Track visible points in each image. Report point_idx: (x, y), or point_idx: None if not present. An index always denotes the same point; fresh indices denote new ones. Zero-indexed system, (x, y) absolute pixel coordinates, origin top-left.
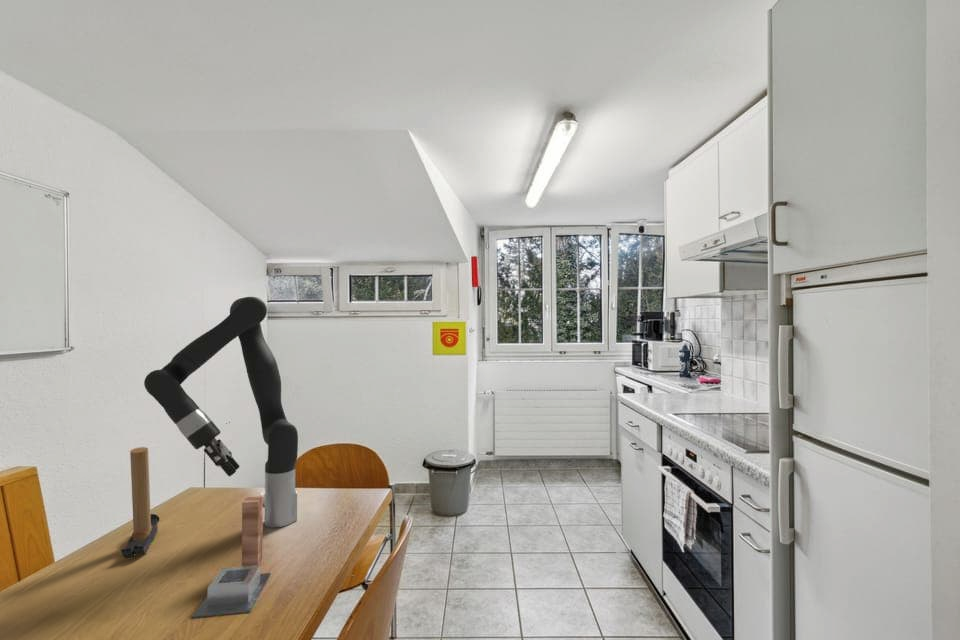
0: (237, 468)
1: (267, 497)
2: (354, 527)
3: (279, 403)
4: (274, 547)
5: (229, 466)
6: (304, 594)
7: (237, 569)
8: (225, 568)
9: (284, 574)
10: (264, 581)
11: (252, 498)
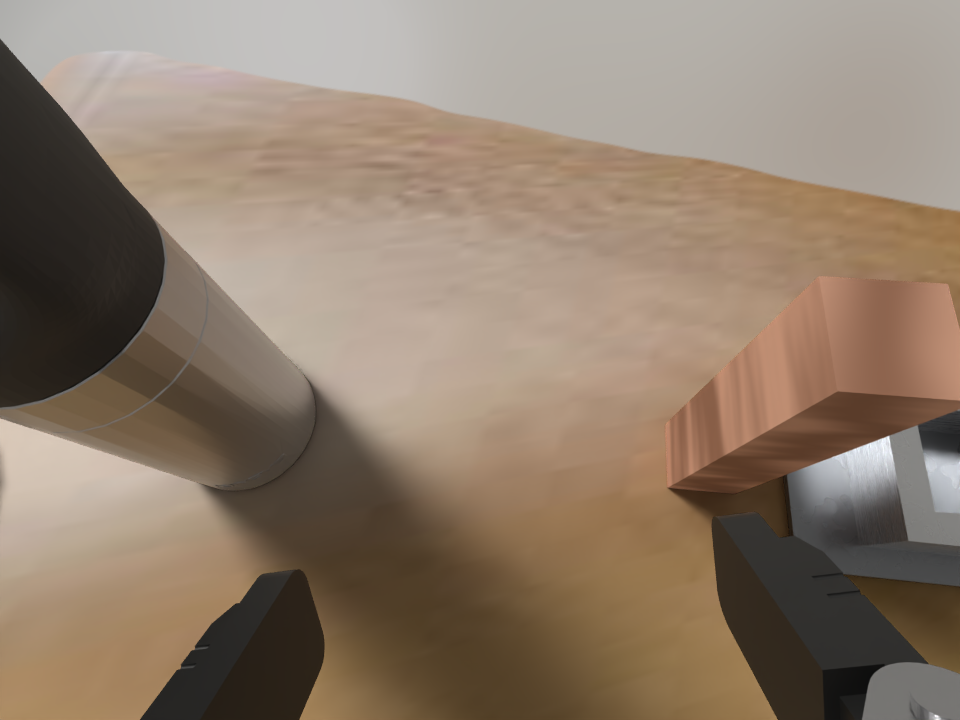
0: (309, 594)
1: (215, 431)
2: (426, 137)
3: None
4: (529, 399)
5: (858, 608)
6: (913, 249)
7: (920, 465)
8: (911, 525)
9: None
10: None
11: (871, 342)
